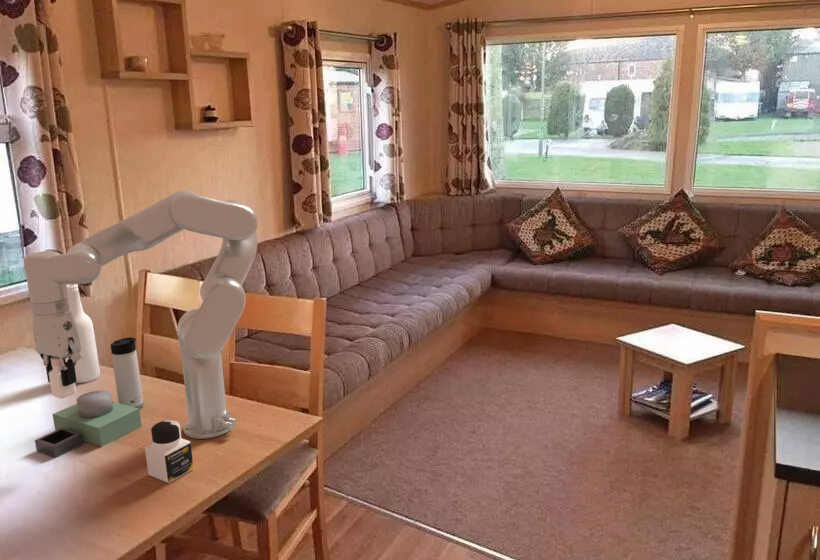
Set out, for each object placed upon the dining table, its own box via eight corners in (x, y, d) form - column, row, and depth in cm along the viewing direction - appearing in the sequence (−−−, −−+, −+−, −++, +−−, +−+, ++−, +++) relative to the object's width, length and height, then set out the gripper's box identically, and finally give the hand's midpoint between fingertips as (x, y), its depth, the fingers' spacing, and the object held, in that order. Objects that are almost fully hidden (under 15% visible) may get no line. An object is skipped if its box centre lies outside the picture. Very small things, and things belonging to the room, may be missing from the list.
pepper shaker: (77, 393, 154) (71, 355, 151) (61, 400, 150) (55, 361, 148) (67, 390, 156) (61, 352, 153) (51, 396, 152) (44, 358, 150)
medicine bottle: (168, 484, 145) (162, 434, 142) (147, 475, 149) (141, 427, 146) (194, 469, 151) (188, 421, 148) (173, 461, 154) (167, 414, 151)
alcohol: (96, 382, 201) (82, 287, 194) (65, 385, 200) (49, 290, 192) (103, 371, 210) (89, 280, 202) (73, 374, 208) (58, 282, 201)
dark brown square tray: (82, 444, 163) (80, 433, 163) (55, 457, 157) (53, 446, 156) (63, 438, 167) (62, 427, 166) (36, 451, 160) (34, 440, 160)
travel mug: (139, 411, 181) (129, 343, 176) (115, 412, 181) (105, 343, 176) (148, 402, 187) (139, 335, 182) (125, 402, 187) (116, 335, 182)
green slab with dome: (141, 426, 172) (137, 394, 170) (101, 446, 162) (96, 413, 160) (96, 413, 180) (91, 382, 178) (55, 431, 170) (49, 399, 168)
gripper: (90, 306, 148) (101, 382, 152) (41, 298, 155) (53, 371, 159) (60, 315, 141) (72, 394, 146) (10, 306, 148) (23, 382, 153)
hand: (62, 381), depth 152 cm, fingers closed on pepper shaker, 4 cm apart
